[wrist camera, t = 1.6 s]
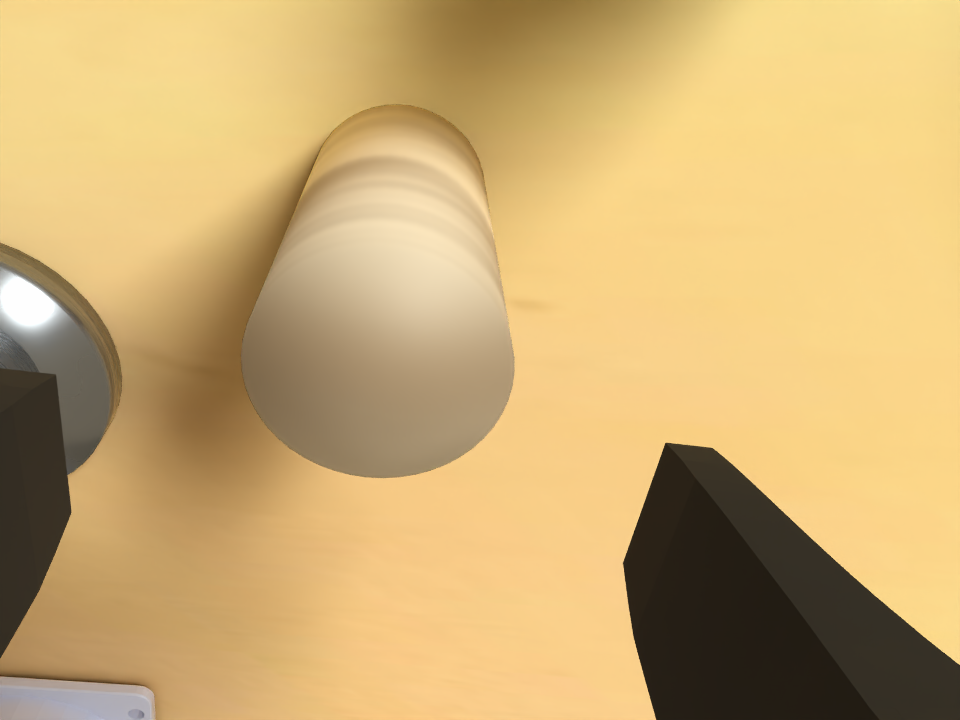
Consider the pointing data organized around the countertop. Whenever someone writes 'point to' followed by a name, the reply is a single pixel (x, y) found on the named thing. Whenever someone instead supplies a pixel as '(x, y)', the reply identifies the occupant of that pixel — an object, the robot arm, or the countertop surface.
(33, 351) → the bobbin post
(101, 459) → the countertop surface
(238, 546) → the countertop surface
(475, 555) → the countertop surface
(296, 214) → the beige banded cylinder
